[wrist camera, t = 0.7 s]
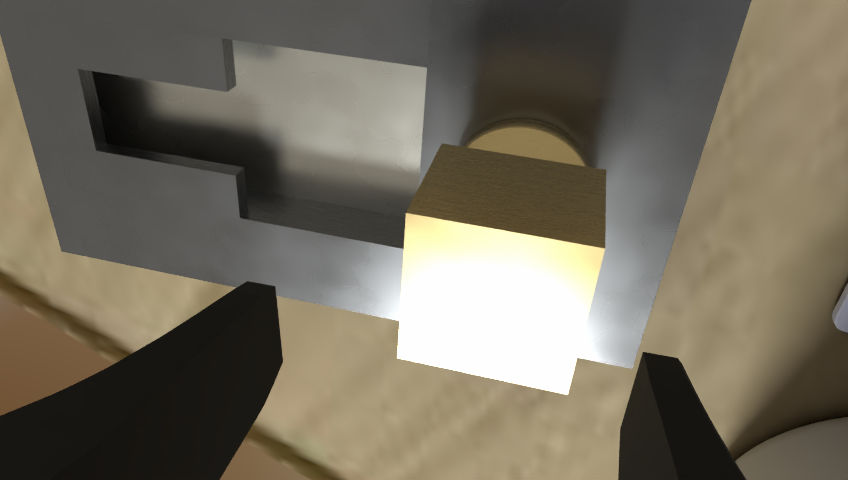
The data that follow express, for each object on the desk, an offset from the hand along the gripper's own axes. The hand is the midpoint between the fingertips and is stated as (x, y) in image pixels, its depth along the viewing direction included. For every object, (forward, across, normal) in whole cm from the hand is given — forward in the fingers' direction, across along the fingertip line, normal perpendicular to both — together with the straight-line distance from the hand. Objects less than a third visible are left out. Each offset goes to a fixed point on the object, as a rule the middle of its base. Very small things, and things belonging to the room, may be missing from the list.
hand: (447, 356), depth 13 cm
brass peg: (+8, -1, 0) cm, 8 cm away
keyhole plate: (+10, +5, 0) cm, 12 cm away
